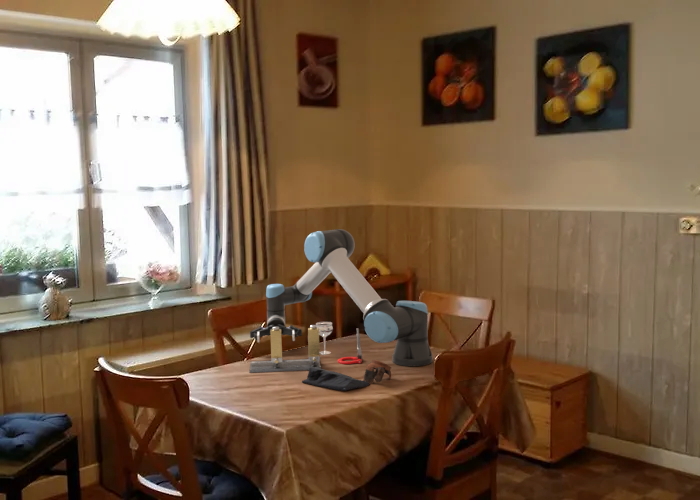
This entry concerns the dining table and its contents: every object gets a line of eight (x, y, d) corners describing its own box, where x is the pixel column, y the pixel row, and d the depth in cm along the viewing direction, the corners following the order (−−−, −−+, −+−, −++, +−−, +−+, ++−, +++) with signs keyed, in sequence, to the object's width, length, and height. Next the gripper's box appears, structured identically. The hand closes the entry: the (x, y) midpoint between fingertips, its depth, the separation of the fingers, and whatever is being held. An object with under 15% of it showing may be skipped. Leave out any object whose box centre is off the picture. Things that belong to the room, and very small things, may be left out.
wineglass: (318, 350, 307) (317, 321, 305) (334, 350, 306) (333, 321, 304) (315, 354, 300) (314, 325, 299) (331, 355, 299) (331, 325, 298)
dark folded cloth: (341, 396, 248) (341, 382, 248) (298, 383, 264) (297, 369, 263) (373, 386, 259) (373, 372, 258) (330, 373, 275) (329, 361, 274)
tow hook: (337, 365, 285) (361, 364, 285) (334, 332, 284) (359, 330, 283) (338, 360, 294) (362, 358, 293) (336, 327, 292) (360, 326, 292)
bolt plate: (318, 360, 291) (317, 321, 289) (320, 369, 279) (319, 328, 277) (250, 363, 288) (249, 324, 287) (249, 372, 277) (247, 331, 275)
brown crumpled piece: (358, 379, 267) (366, 358, 269) (382, 390, 268) (390, 368, 270) (366, 380, 255) (375, 357, 257) (391, 391, 256) (400, 368, 258)
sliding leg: (282, 359, 286) (281, 325, 284) (282, 365, 278) (281, 329, 277) (271, 360, 285) (270, 325, 284) (271, 365, 278) (270, 330, 277)
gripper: (306, 333, 313) (308, 346, 292) (245, 336, 311) (243, 349, 290) (306, 316, 312) (308, 327, 291) (245, 318, 310) (242, 329, 289)
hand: (275, 338), depth 290 cm, fingers open, 13 cm apart
